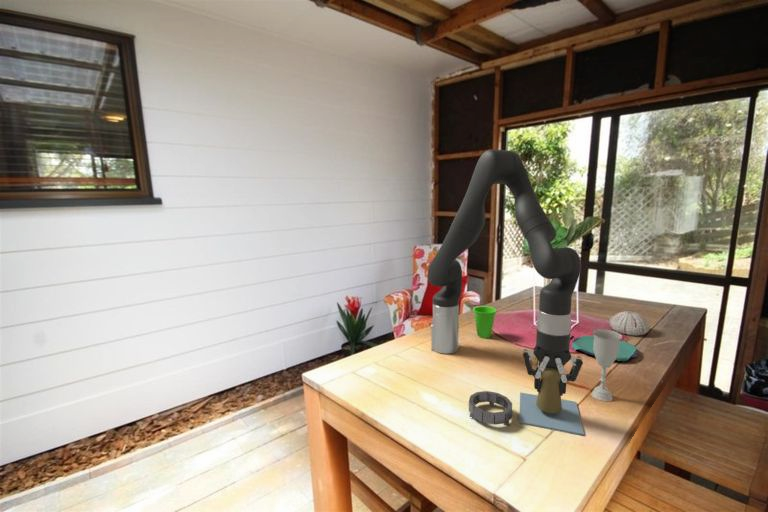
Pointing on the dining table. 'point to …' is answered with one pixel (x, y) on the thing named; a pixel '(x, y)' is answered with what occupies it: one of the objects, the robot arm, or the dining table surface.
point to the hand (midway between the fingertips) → (549, 392)
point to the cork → (549, 391)
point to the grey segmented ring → (491, 398)
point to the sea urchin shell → (629, 323)
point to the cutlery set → (587, 346)
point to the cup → (484, 320)
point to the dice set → (534, 360)
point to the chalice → (605, 358)
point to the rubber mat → (550, 415)
